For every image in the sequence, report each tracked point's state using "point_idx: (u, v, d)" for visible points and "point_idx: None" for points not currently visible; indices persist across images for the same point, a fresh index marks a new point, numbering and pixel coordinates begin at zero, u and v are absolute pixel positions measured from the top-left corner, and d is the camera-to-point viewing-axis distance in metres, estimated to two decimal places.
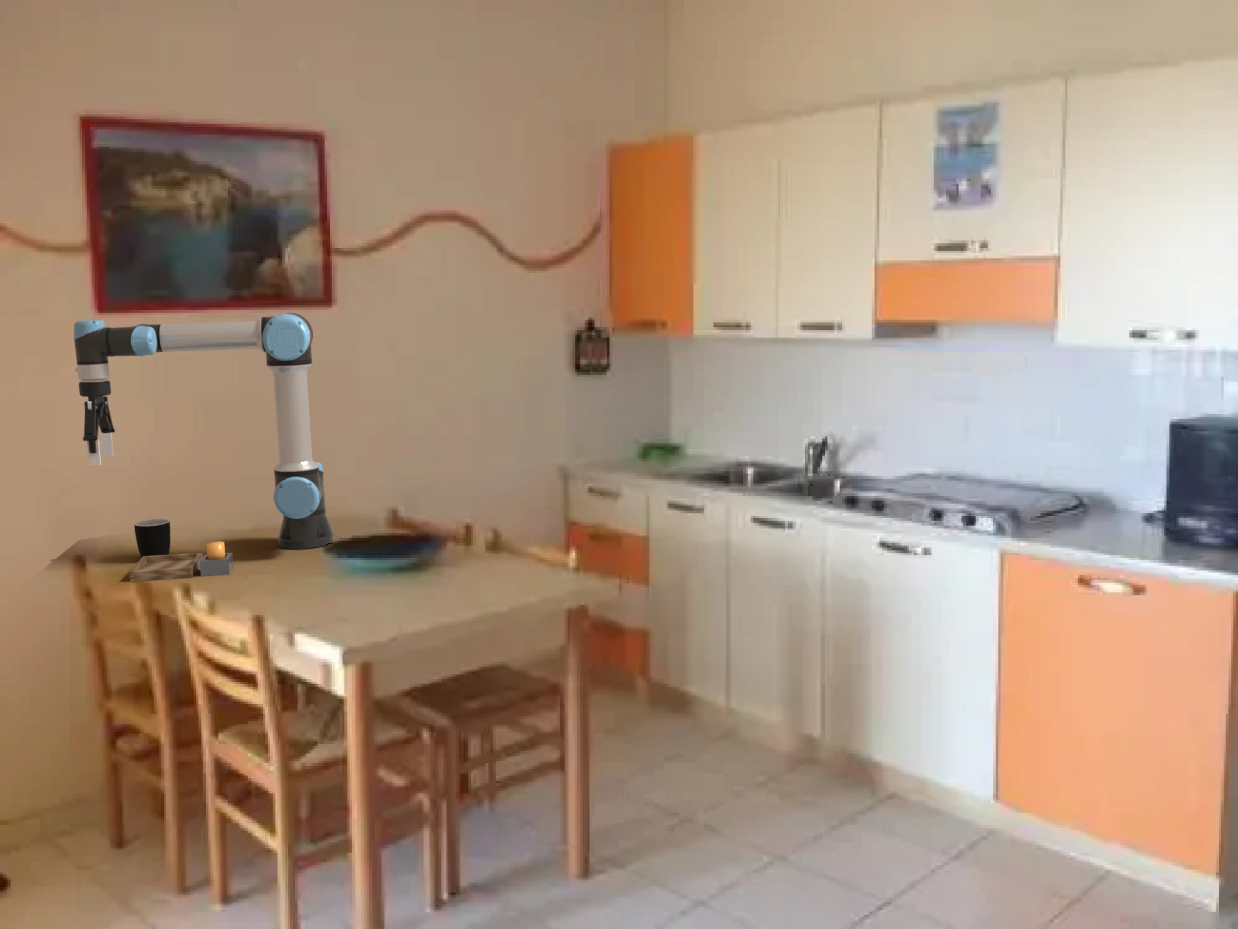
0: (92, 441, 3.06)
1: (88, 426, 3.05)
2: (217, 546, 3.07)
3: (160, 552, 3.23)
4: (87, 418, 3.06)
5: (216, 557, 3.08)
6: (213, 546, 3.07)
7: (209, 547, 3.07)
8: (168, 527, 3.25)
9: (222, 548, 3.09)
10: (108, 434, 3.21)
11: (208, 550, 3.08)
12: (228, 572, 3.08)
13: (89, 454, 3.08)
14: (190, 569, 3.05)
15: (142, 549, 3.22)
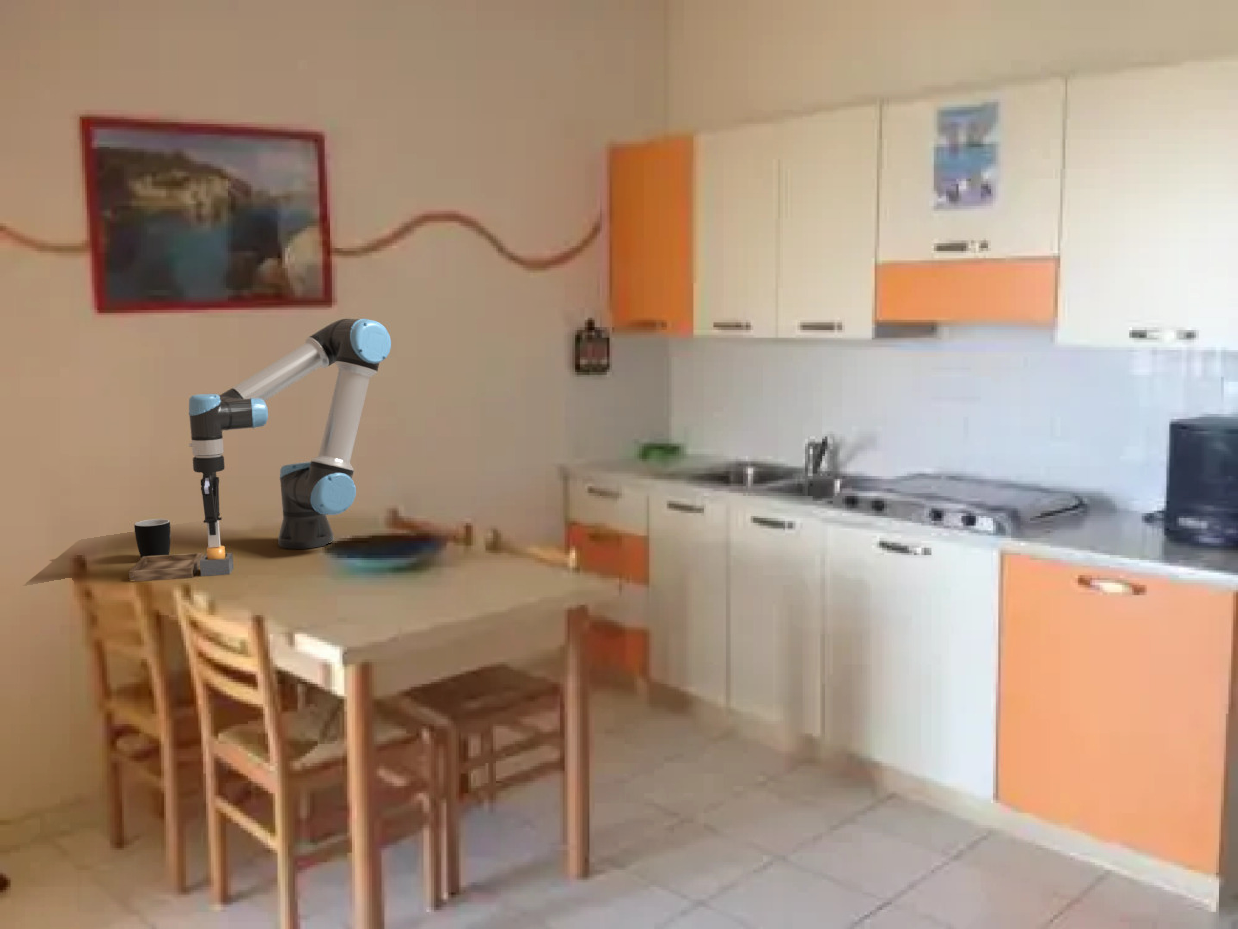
0: (212, 523, 3.06)
1: (208, 510, 3.03)
2: (217, 550, 3.08)
3: (160, 552, 3.23)
4: (206, 503, 3.03)
5: None
6: (213, 550, 3.07)
7: (209, 551, 3.08)
8: (168, 527, 3.25)
9: (222, 552, 3.09)
10: None
11: (208, 554, 3.08)
12: (228, 572, 3.08)
13: (208, 536, 3.08)
14: (190, 569, 3.05)
15: (142, 549, 3.22)
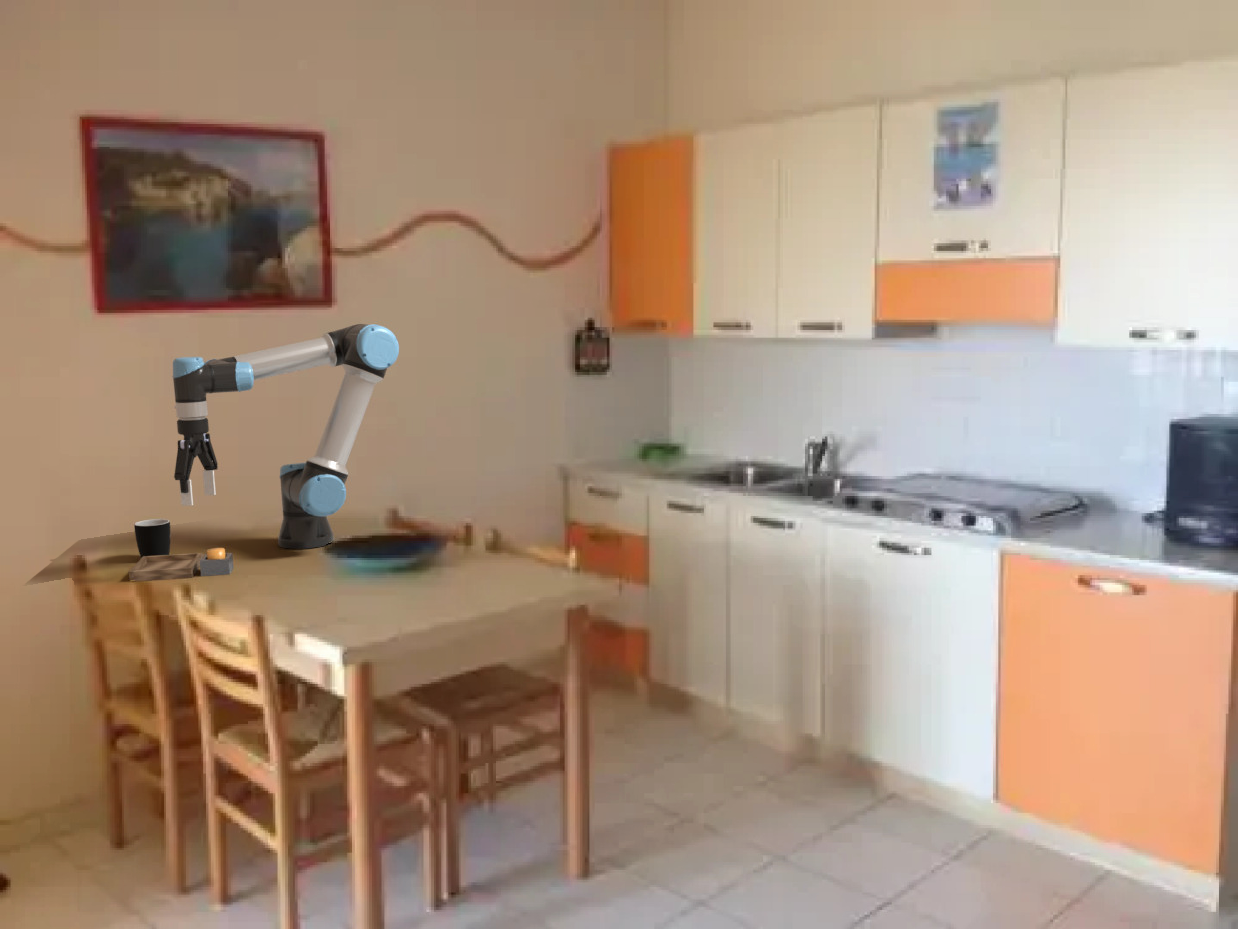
0: (183, 481, 3.01)
1: (179, 466, 3.00)
2: (218, 552, 3.08)
3: (160, 552, 3.23)
4: (179, 457, 3.01)
5: None
6: (214, 552, 3.07)
7: (210, 553, 3.08)
8: (168, 527, 3.25)
9: (223, 554, 3.09)
10: (210, 472, 3.16)
11: (209, 556, 3.08)
12: (228, 572, 3.08)
13: (181, 493, 3.03)
14: (190, 569, 3.05)
15: (142, 549, 3.22)
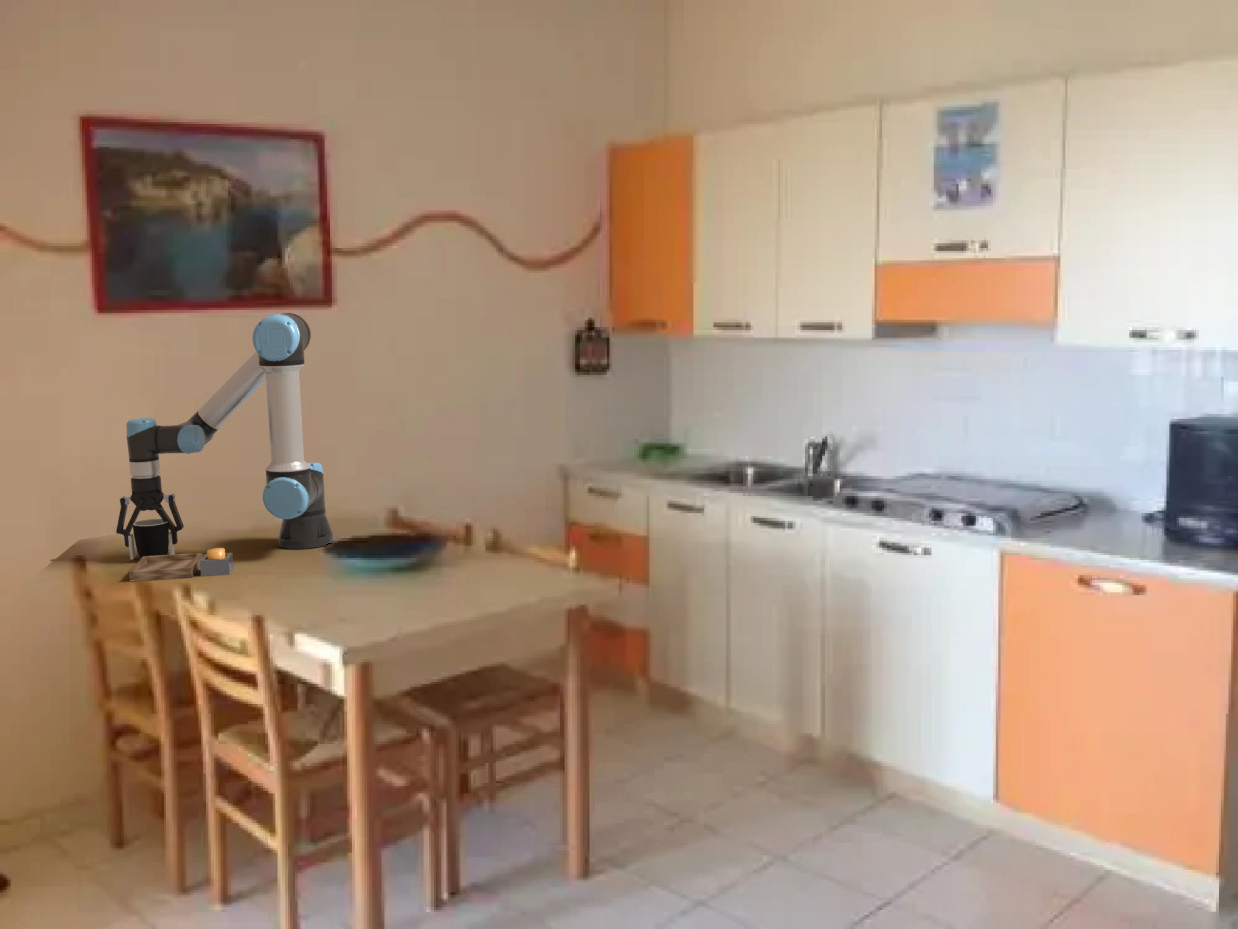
0: None
1: None
2: (218, 552, 3.08)
3: (159, 552, 3.23)
4: None
5: None
6: (214, 552, 3.07)
7: (210, 553, 3.08)
8: (167, 527, 3.25)
9: (223, 554, 3.09)
10: None
11: (209, 556, 3.08)
12: (228, 572, 3.08)
13: None
14: (190, 569, 3.05)
15: (141, 549, 3.22)
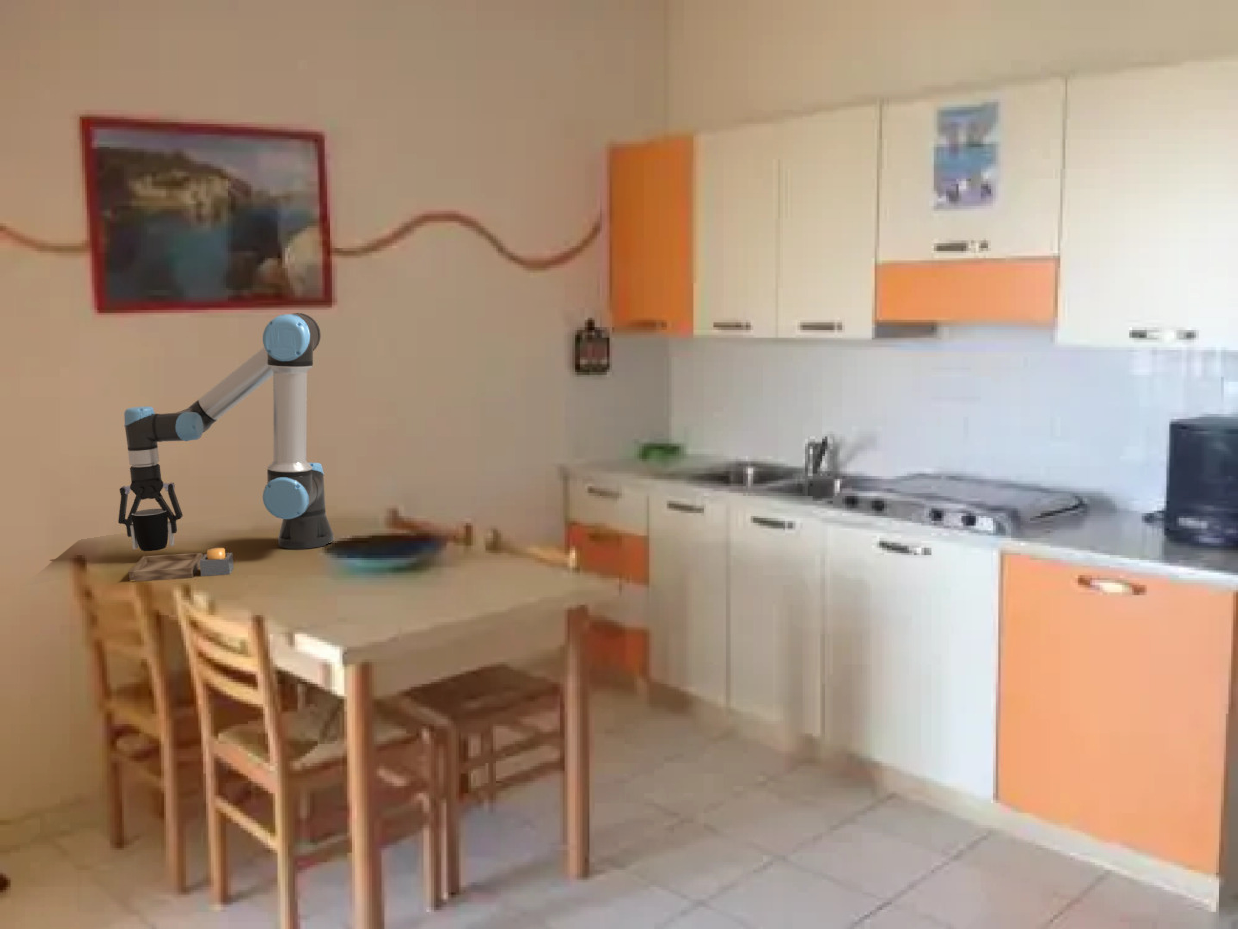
0: None
1: None
2: (218, 552, 3.08)
3: (158, 541, 3.23)
4: None
5: None
6: (214, 552, 3.07)
7: (210, 553, 3.08)
8: (165, 516, 3.24)
9: (223, 554, 3.09)
10: None
11: (209, 556, 3.08)
12: (228, 572, 3.08)
13: None
14: (190, 569, 3.05)
15: (140, 539, 3.22)
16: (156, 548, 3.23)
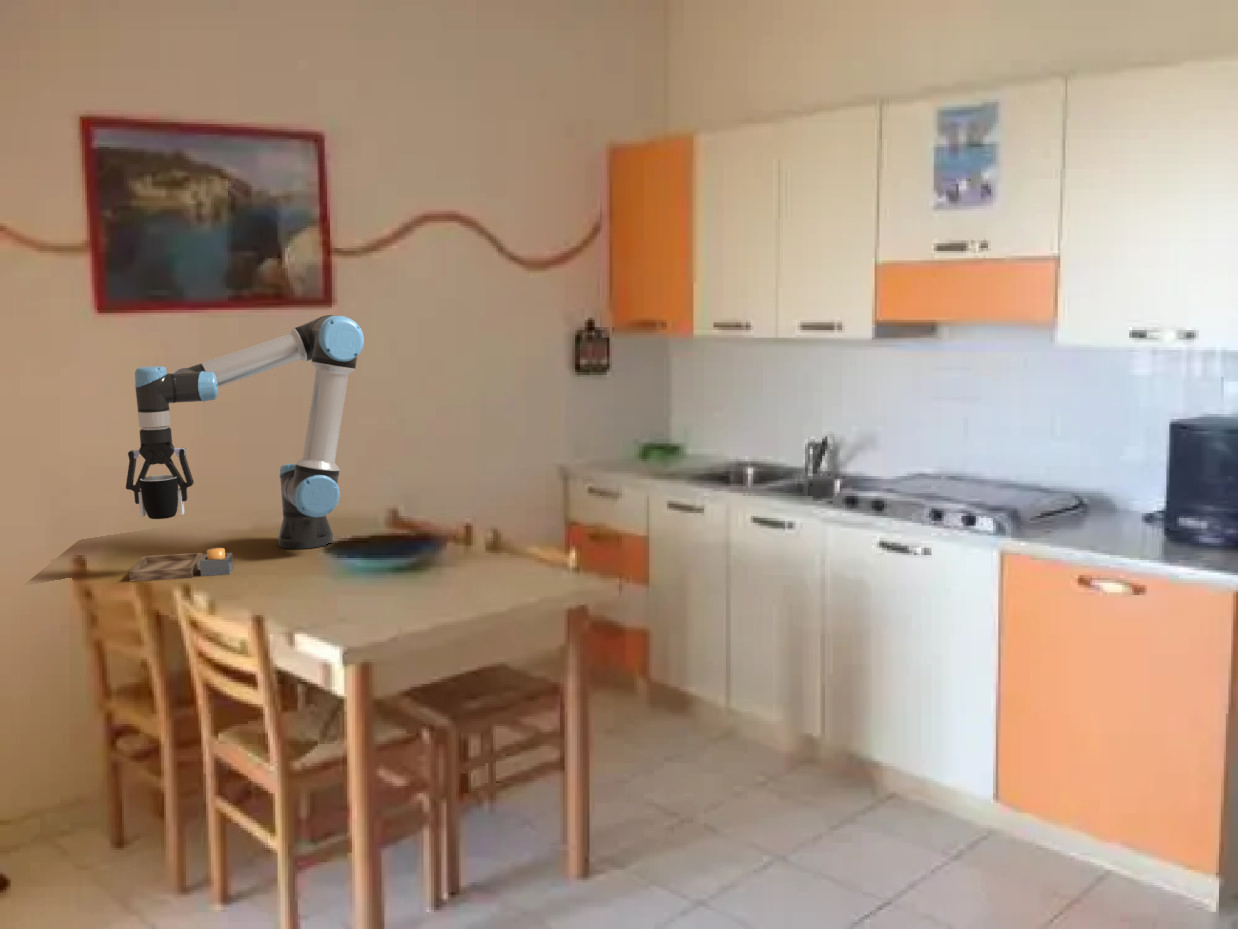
0: None
1: None
2: (218, 552, 3.08)
3: (167, 509, 3.06)
4: None
5: None
6: (214, 552, 3.07)
7: (210, 553, 3.08)
8: (176, 483, 3.07)
9: (223, 554, 3.09)
10: None
11: (209, 556, 3.08)
12: (228, 572, 3.08)
13: None
14: (190, 569, 3.05)
15: (148, 506, 3.05)
16: (165, 516, 3.06)
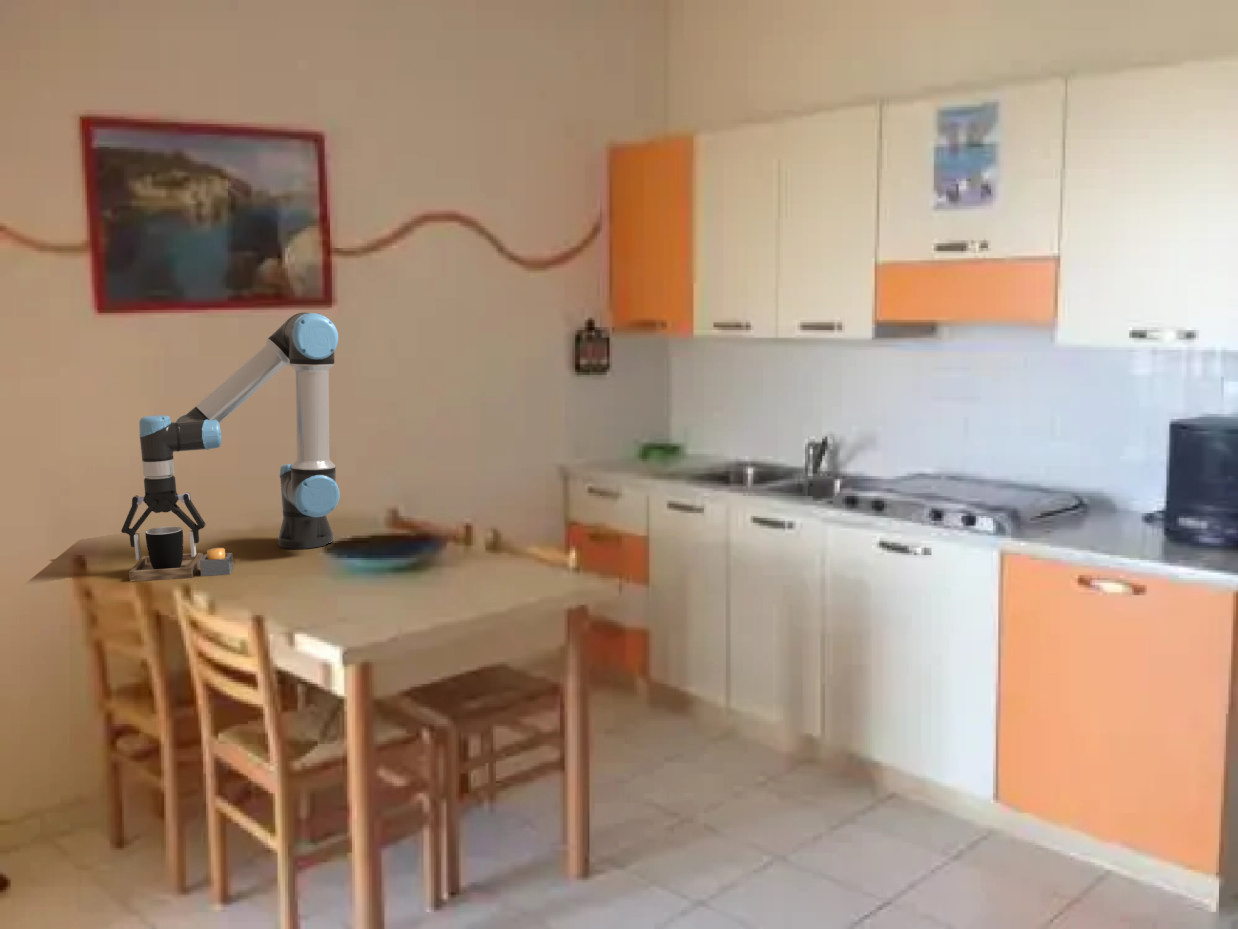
0: None
1: None
2: (218, 552, 3.08)
3: (172, 562, 3.08)
4: None
5: None
6: (214, 552, 3.07)
7: (210, 553, 3.08)
8: (181, 535, 3.09)
9: (223, 554, 3.09)
10: None
11: (209, 556, 3.08)
12: (228, 572, 3.08)
13: None
14: (190, 569, 3.05)
15: (153, 558, 3.07)
16: None
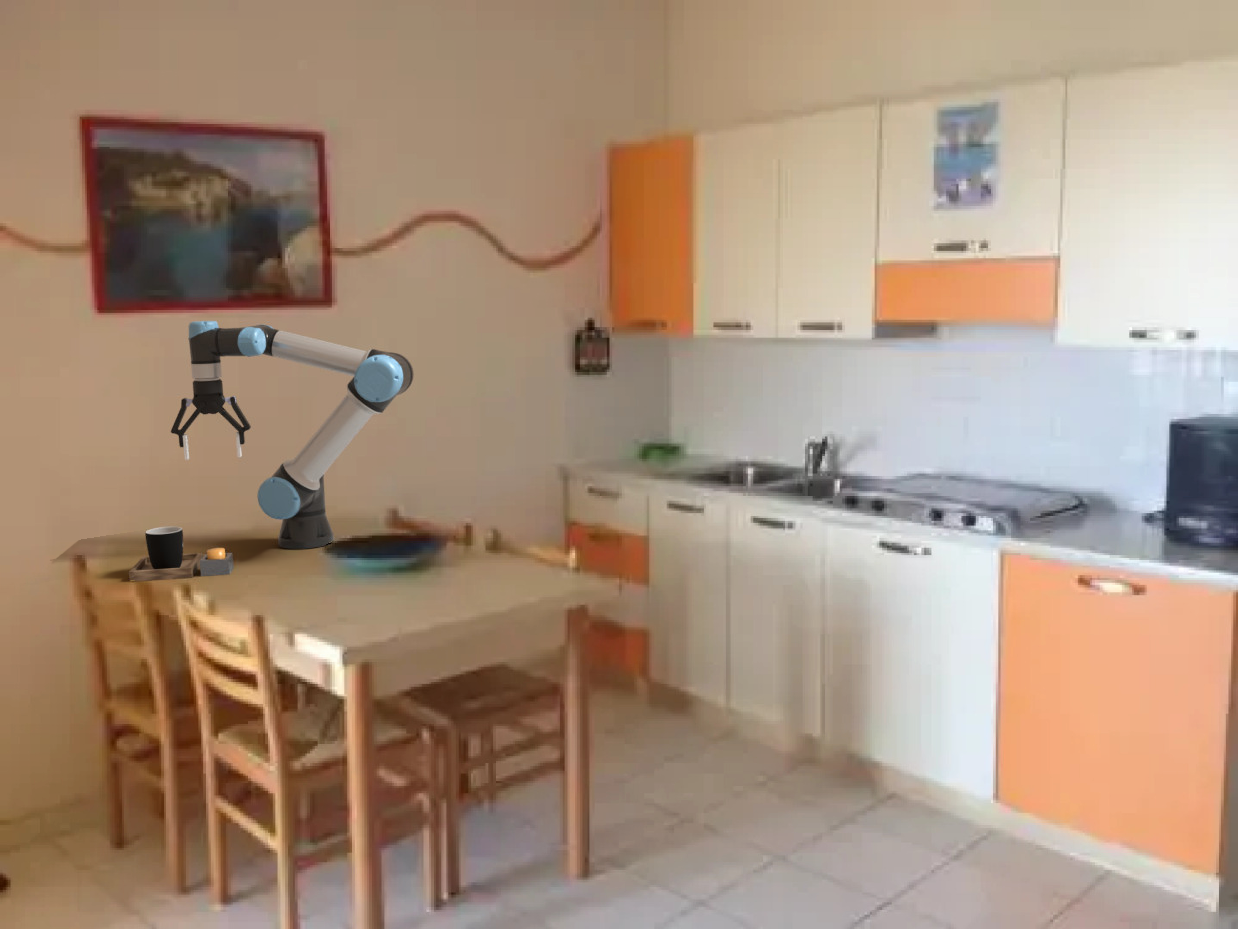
0: None
1: None
2: (218, 552, 3.08)
3: (172, 562, 3.08)
4: None
5: None
6: (214, 552, 3.07)
7: (210, 553, 3.08)
8: (180, 535, 3.09)
9: (223, 554, 3.09)
10: (236, 434, 3.25)
11: (209, 556, 3.08)
12: (228, 572, 3.08)
13: None
14: (190, 569, 3.05)
15: (153, 558, 3.07)
16: None
